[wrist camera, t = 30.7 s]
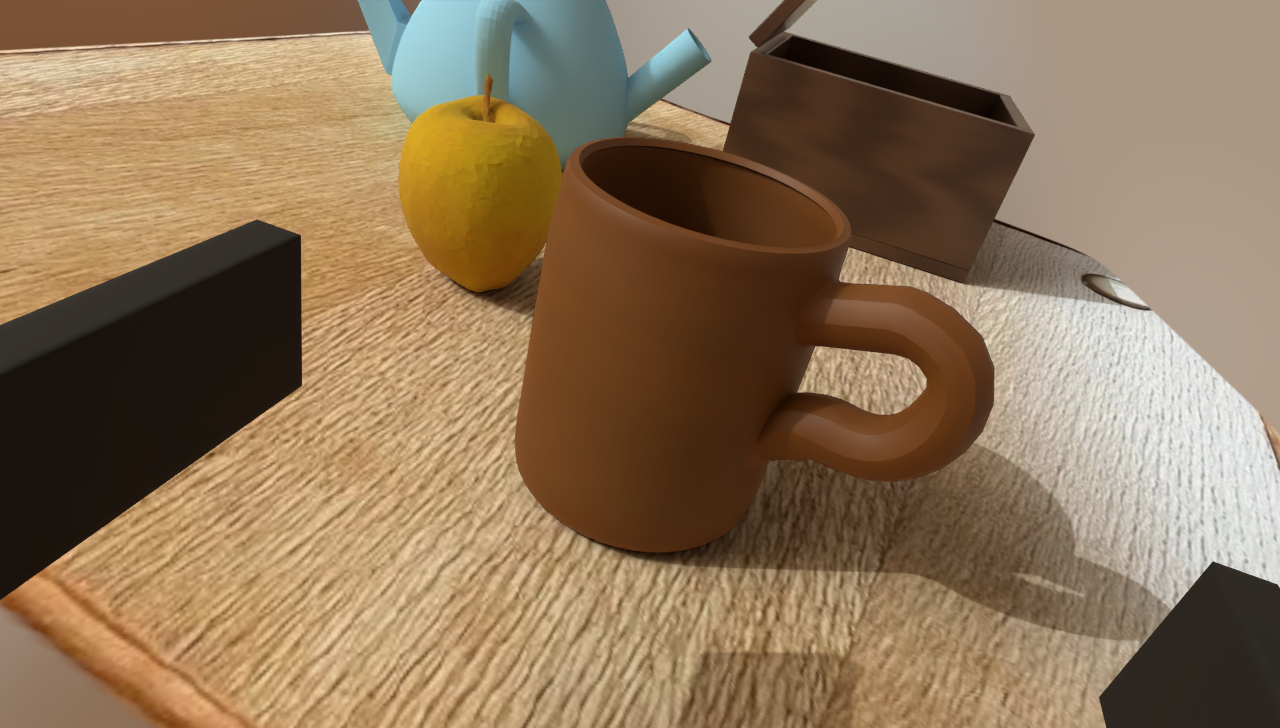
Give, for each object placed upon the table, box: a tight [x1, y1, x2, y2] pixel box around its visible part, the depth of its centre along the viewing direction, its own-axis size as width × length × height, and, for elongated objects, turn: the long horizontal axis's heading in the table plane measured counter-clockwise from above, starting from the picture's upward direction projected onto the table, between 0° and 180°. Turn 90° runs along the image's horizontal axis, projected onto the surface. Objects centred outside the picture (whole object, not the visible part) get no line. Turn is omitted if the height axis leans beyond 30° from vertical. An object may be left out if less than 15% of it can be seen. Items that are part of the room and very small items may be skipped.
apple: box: [399, 74, 563, 292], centre depth 31 cm, size 6×6×8 cm
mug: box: [515, 137, 994, 553], centre depth 21 cm, size 12×8×9 cm, turn 53°
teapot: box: [358, 0, 711, 170], centre depth 47 cm, size 15×17×11 cm
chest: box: [723, 32, 1035, 283], centre depth 50 cm, size 16×13×9 cm
